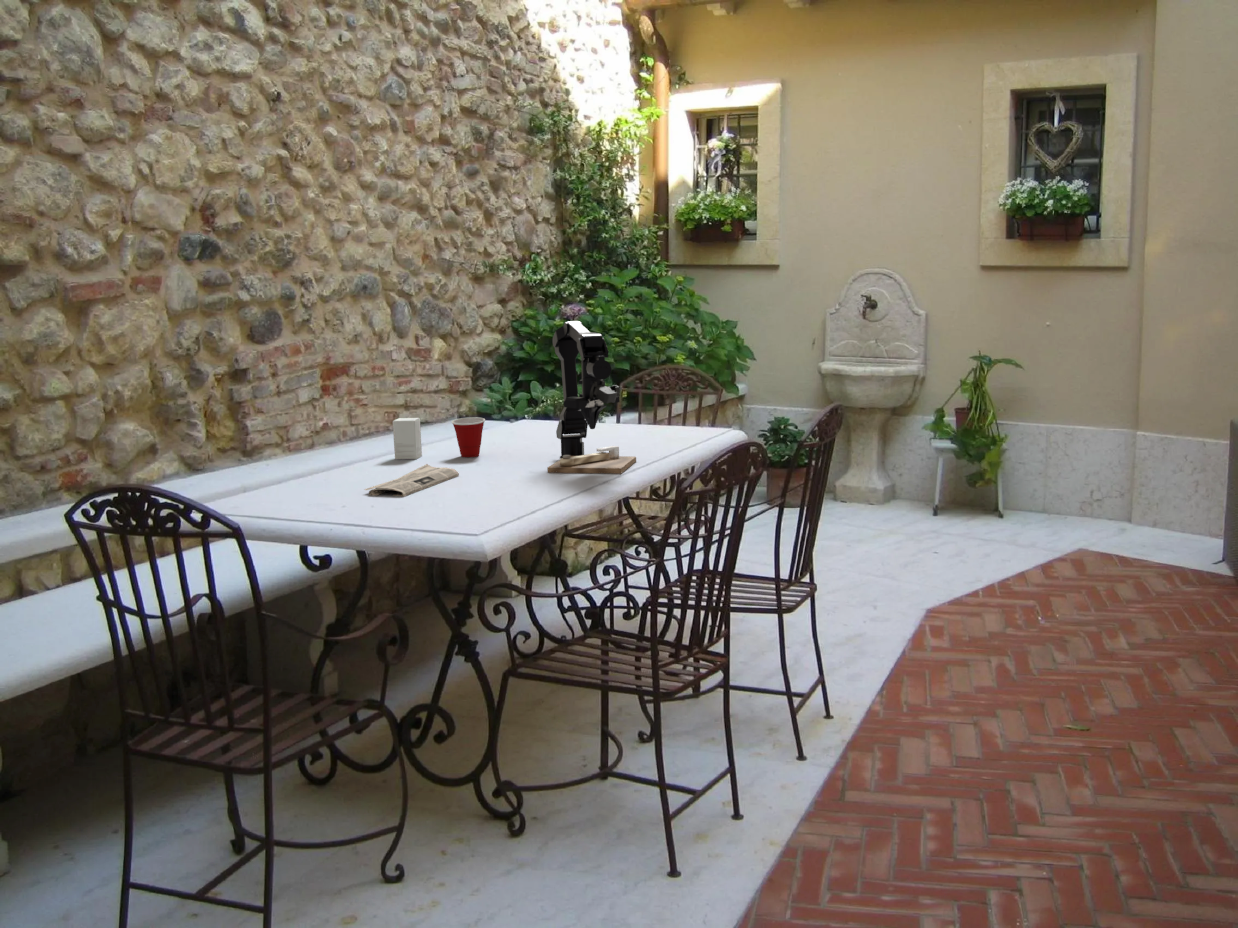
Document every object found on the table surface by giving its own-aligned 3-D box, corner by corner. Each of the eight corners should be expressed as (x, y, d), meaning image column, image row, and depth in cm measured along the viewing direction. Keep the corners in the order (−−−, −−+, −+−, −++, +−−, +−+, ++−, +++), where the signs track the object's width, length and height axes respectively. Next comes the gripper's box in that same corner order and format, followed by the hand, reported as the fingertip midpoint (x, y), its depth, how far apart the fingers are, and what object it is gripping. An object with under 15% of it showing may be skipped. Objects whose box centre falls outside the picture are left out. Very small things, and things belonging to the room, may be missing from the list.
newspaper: (403, 498, 310) (403, 485, 310) (361, 497, 314) (361, 483, 313) (461, 476, 343) (460, 464, 343) (422, 475, 347) (422, 463, 347)
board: (547, 472, 345) (547, 467, 345) (566, 460, 367) (566, 455, 367) (621, 473, 340) (621, 468, 340) (636, 461, 363) (636, 456, 362)
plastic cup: (447, 458, 377) (445, 421, 375) (461, 453, 387) (459, 417, 385) (478, 459, 374) (477, 421, 372) (491, 454, 384) (490, 417, 382)
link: (566, 466, 344) (566, 456, 344) (557, 464, 347) (557, 455, 346) (610, 458, 357) (610, 449, 356) (601, 457, 359) (601, 448, 359)
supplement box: (422, 456, 383) (420, 417, 381) (416, 459, 375) (414, 420, 373) (400, 456, 383) (398, 417, 381) (394, 459, 376) (392, 420, 374)
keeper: (601, 460, 356) (601, 449, 355) (596, 459, 357) (596, 448, 357) (619, 457, 361) (618, 446, 360) (613, 456, 363) (613, 445, 362)
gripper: (589, 381, 336) (590, 435, 338) (632, 375, 349) (633, 427, 352) (561, 378, 343) (563, 431, 346) (605, 373, 357) (605, 424, 359)
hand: (592, 429), depth 351 cm, fingers closed
